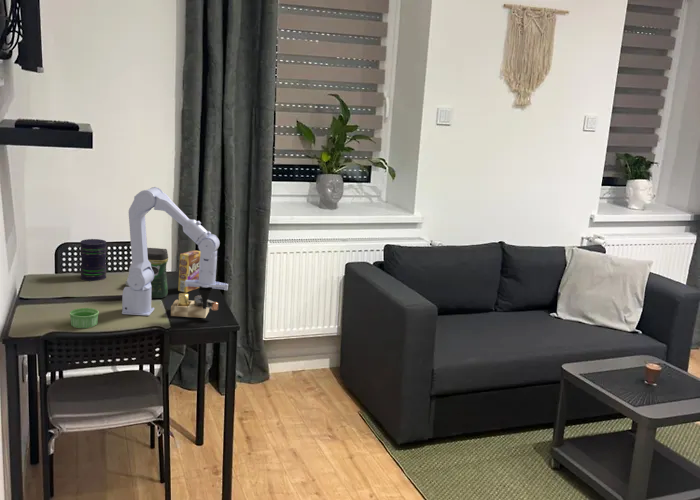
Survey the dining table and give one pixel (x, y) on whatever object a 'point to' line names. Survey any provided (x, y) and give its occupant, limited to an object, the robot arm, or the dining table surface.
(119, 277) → the dining table surface
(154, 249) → the coffee jar
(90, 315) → the ramekin
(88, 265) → the storage jar
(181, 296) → the brass pin
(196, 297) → the copper tipped joystick
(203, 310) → the birch block
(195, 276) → the candy box
